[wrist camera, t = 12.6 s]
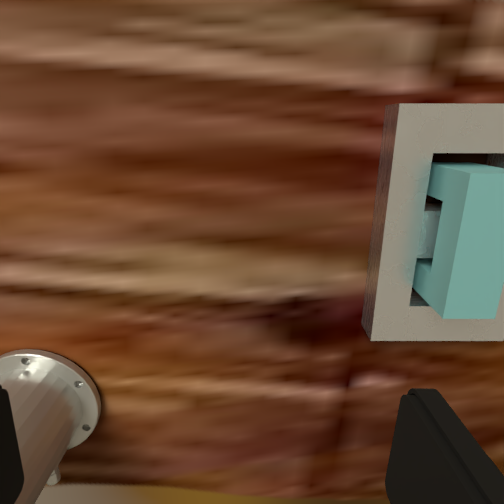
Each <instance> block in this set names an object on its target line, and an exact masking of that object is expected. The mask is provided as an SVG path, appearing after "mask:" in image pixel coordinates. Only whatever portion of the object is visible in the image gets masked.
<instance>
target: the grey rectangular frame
mask: <svg viewBox="0 0 504 504" xmlns="http://www.w3.org/2000/svg"><path fill="white" fill-rule="evenodd" d="M433 153H488V155H487V160H486V165H488V166H494V167H499V168H504V104H393V105H386V107H385V116H384V126H383V135H382V144H381V153H380V162H379V171H378V180H377V189H376V198H375V207H374V216H373V225H372V234H371V243H370V252H369V261H368V270H367V279H366V288H365V297H364V306H363V315H362V326H363V328H364V329H365V331H366V333H367V335H368V337H369V339H370V341H503V339H504V284H503V288H502V292H501V296H500V300H499V305H498V309H497V313H496V317H495V319H442V318H441V316H440V315H439V314H438V313H437V312H436V311H435V310H434V309H433V308H432V307H431V306H430V305H429V304H428V303H427V302H426V301H425V300H424V299H423V298H422V297H421V296H420V295H419V294H418V293H417V292H412V285H413V279H414V272H415V266H416V259H417V258H433V255H434V249H435V244H436V238H437V232H438V226H439V220H440V215H441V209H442V203H425V202H426V195H427V189H428V182H429V176H430V169H431V163H432V157H433Z"/></svg>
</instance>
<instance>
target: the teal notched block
mask: <svg viewBox="0 0 504 504" xmlns="http://www.w3.org/2000/svg"><path fill="white" fill-rule="evenodd" d="M427 195H429V196H432V197H434V198H436V199H439V200H441V201H443V203H442V209H441V215H440V220H439V226H438V232H437V238H436V244H435V249H434V255H433V258H417V259H416V266H415V272H414V279H413V285H412V287H413V288H414V290H415V291H416V292H417V293H418V294H419V295H420V296H421V297H422V298H423V299H424V300H425V301H426V302H427V303H428V304H429V305H430V306H431V307H432V308H433V309H434V310H435V311H436V312H437V313H438V314H439V315H440V316H441V318H442V319H495V317H496V313H497V309H498V305H499V300H500V296H501V292H502V288H503V284H504V168H499V167H494V166H488V165H483V164H478V163H472V162H432V163H431V169H430V176H429V182H428V189H427Z"/></svg>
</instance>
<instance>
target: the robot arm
mask: <svg viewBox="0 0 504 504" xmlns="http://www.w3.org/2000/svg"><path fill="white" fill-rule="evenodd" d="M100 413H101V401H100V396H99V393H98V391H97V388H96V386H95V384H94V383H93V381H92V380H91V378H90V377H89V376H88V375H87V374H86V373H85V372H84V371H83V370H82V369H81V368H80V367H78V366H77V365H76V364H75V363H73V362H72V361H70V360H68V359H66V358H64V357H62V356H60V355H57V354H54V353H51V352H47V351H42V350H33V349H24V350H16V351H12V352H9V353H6V354H3V355H1V356H0V504H35V502H36V500H37V498H38V497H39V495H40V493H41V491H42V490H43V488H44V486H45V484H46V483H47V485H54V484H56V483H58V481H59V480H60V478H61V475H60V471H59V467H58V465H59V463H60V461H61V460H62V458H63V456H64V454H65V453H66V451H67V450H68V449H71V448H73V447H75V446H77V445H79V444H81V443H82V442H83V441H85V440H86V439H87V438H88V437H89V436H90V434H91V433H92V432H93V430H94V428H95V426H96V424H97V423H98V420H99V417H100ZM385 486H386V492H387V495H388V498H389V501H390V503H391V504H504V476H503V475H502V473H501V472H500V471H499V469H498V468H497V467H496V465H495V464H494V463H493V461H492V460H491V459H490V458H489V457H488V456H487V455H486V453H485V452H484V451H483V449H482V448H481V447H480V445H479V444H478V443H477V441H476V440H475V439H474V438H473V436H472V435H471V434H470V432H469V431H468V430H467V428H466V427H465V426H464V424H463V423H462V422H461V420H460V419H459V418H458V416H457V415H456V414H455V413H454V411H453V410H452V409H451V407H450V406H449V405H448V403H447V402H446V401H445V399H444V398H443V397H442V395H441V394H440V393H439V392H438V391H437V390H436V389H413V388H412V389H410V390H409V391H408V394H407V395H403V396H402V397H401V400H400V405H399V410H398V416H397V421H396V426H395V431H394V436H393V442H392V447H391V452H390V457H389V463H388V468H387V473H386V479H385Z"/></svg>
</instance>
